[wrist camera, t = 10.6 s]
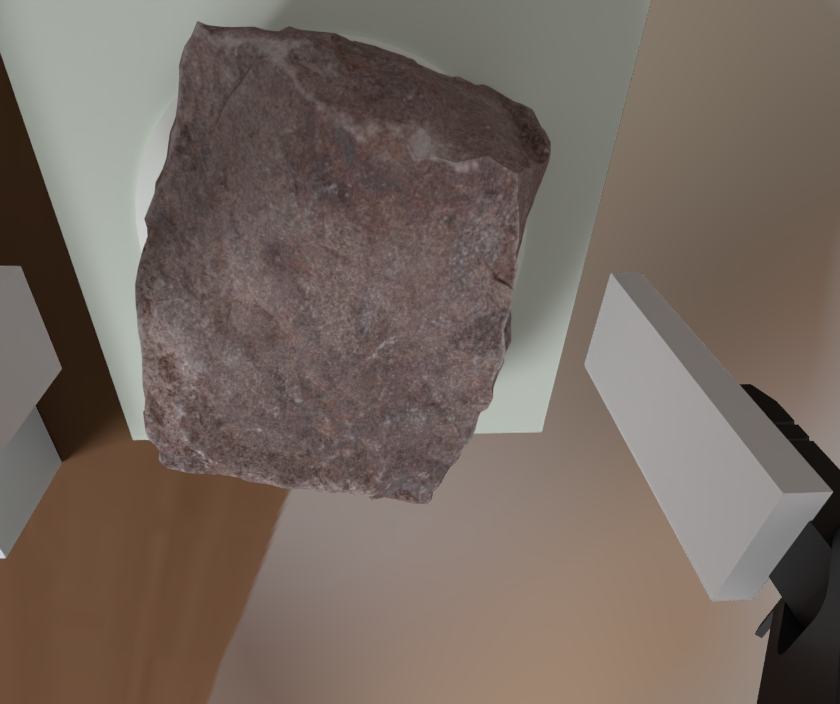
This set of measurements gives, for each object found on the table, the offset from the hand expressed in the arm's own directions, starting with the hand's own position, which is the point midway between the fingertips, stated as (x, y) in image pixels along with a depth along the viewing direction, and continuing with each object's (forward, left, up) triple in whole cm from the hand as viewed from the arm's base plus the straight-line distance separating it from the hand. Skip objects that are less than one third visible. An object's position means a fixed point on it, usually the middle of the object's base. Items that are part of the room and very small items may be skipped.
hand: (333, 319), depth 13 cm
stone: (0, 0, -4) cm, 4 cm away
